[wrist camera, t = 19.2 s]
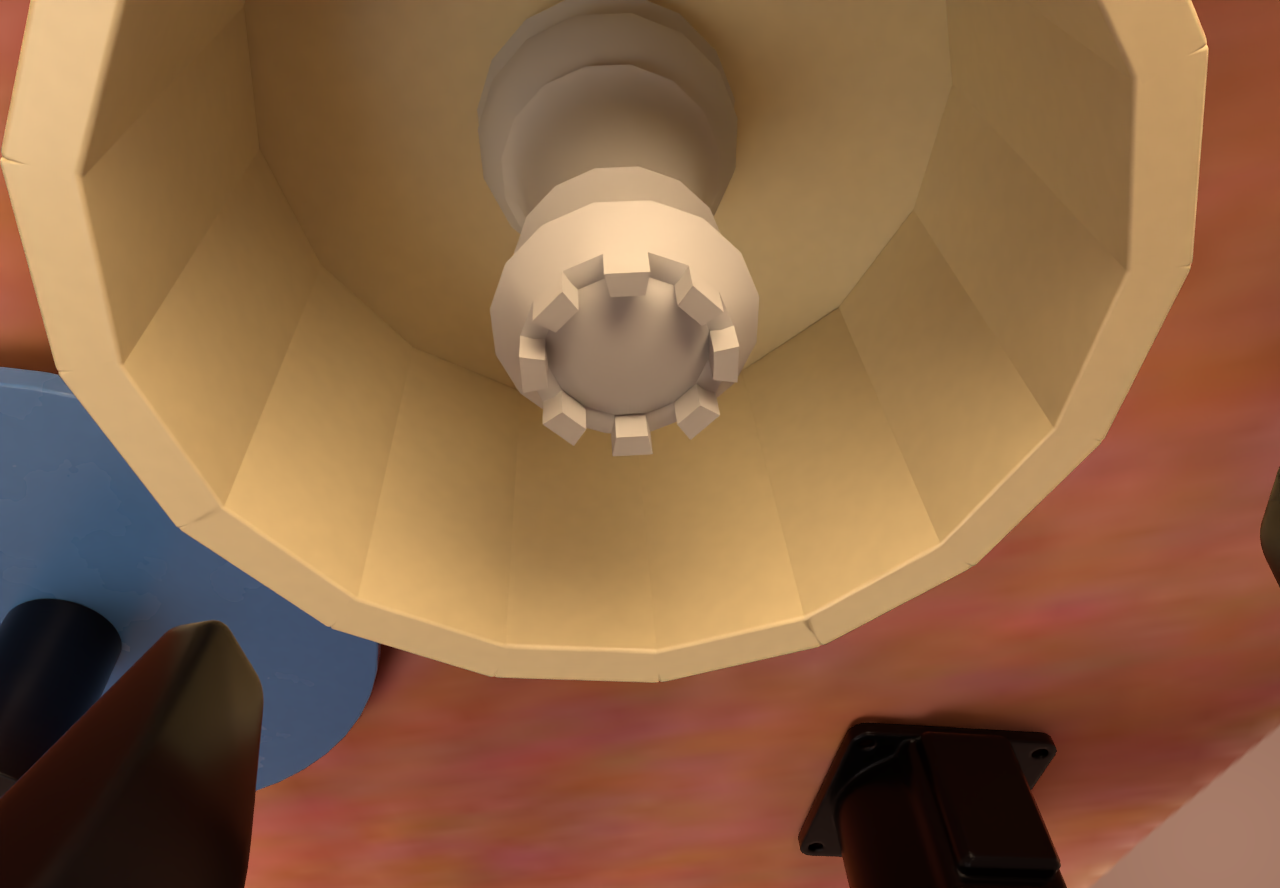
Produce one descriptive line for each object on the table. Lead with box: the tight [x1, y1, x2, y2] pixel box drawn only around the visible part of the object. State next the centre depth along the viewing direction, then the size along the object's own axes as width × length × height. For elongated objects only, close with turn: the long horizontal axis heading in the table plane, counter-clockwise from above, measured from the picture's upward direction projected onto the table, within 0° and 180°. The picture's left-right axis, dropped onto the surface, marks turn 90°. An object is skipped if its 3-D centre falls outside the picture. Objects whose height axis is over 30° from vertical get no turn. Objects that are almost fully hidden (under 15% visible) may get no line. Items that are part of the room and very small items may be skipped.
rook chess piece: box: [477, 0, 759, 456], centre depth 15 cm, size 4×4×8 cm
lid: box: [0, 367, 381, 798], centre depth 23 cm, size 15×15×6 cm
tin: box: [0, 0, 1209, 683], centre depth 15 cm, size 14×14×8 cm
